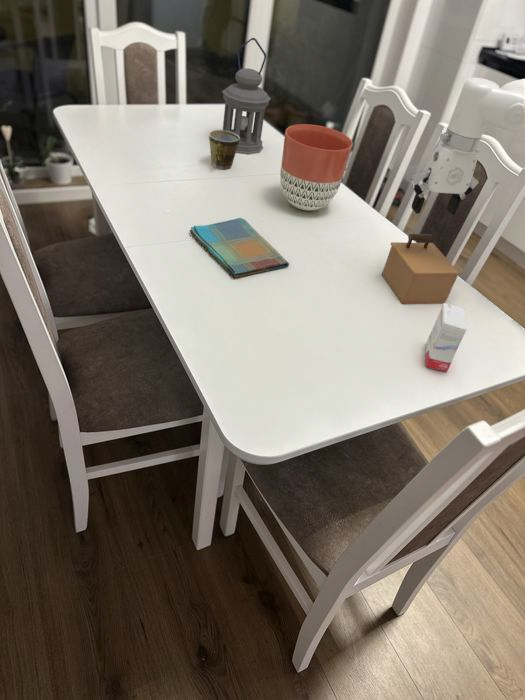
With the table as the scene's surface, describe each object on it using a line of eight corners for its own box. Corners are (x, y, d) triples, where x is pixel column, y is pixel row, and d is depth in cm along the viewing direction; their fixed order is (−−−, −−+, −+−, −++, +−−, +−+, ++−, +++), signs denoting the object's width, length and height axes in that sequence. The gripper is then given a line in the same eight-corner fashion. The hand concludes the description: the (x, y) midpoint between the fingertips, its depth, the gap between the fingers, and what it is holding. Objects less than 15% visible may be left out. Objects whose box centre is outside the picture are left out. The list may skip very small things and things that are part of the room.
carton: (381, 274, 143) (391, 246, 138) (422, 274, 146) (433, 246, 141) (402, 304, 134) (413, 275, 128) (445, 303, 137) (458, 275, 131)
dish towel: (243, 224, 153) (244, 215, 151) (290, 267, 139) (291, 258, 137) (188, 233, 144) (189, 224, 142) (232, 280, 130) (233, 271, 129)
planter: (310, 188, 178) (325, 122, 164) (347, 216, 166) (366, 147, 152) (261, 195, 168) (272, 126, 154) (297, 225, 157) (312, 153, 143)
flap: (390, 244, 138) (395, 228, 135) (431, 244, 141) (438, 229, 139) (413, 275, 128) (420, 259, 125) (458, 274, 131) (465, 259, 129)
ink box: (446, 373, 116) (468, 331, 108) (423, 367, 116) (443, 324, 109) (446, 349, 122) (466, 307, 115) (424, 343, 123) (443, 301, 115)
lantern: (264, 141, 204) (280, 37, 182) (260, 157, 191) (277, 48, 169) (221, 133, 204) (231, 28, 181) (214, 149, 191) (224, 38, 168)
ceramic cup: (211, 157, 185) (214, 127, 179) (239, 163, 185) (243, 134, 178) (200, 171, 175) (202, 140, 169) (230, 177, 175) (233, 147, 168)
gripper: (434, 144, 114) (407, 218, 125) (503, 150, 119) (471, 220, 130) (419, 131, 119) (394, 202, 130) (485, 136, 124) (456, 205, 135)
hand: (432, 211), depth 130 cm, fingers open, 9 cm apart
